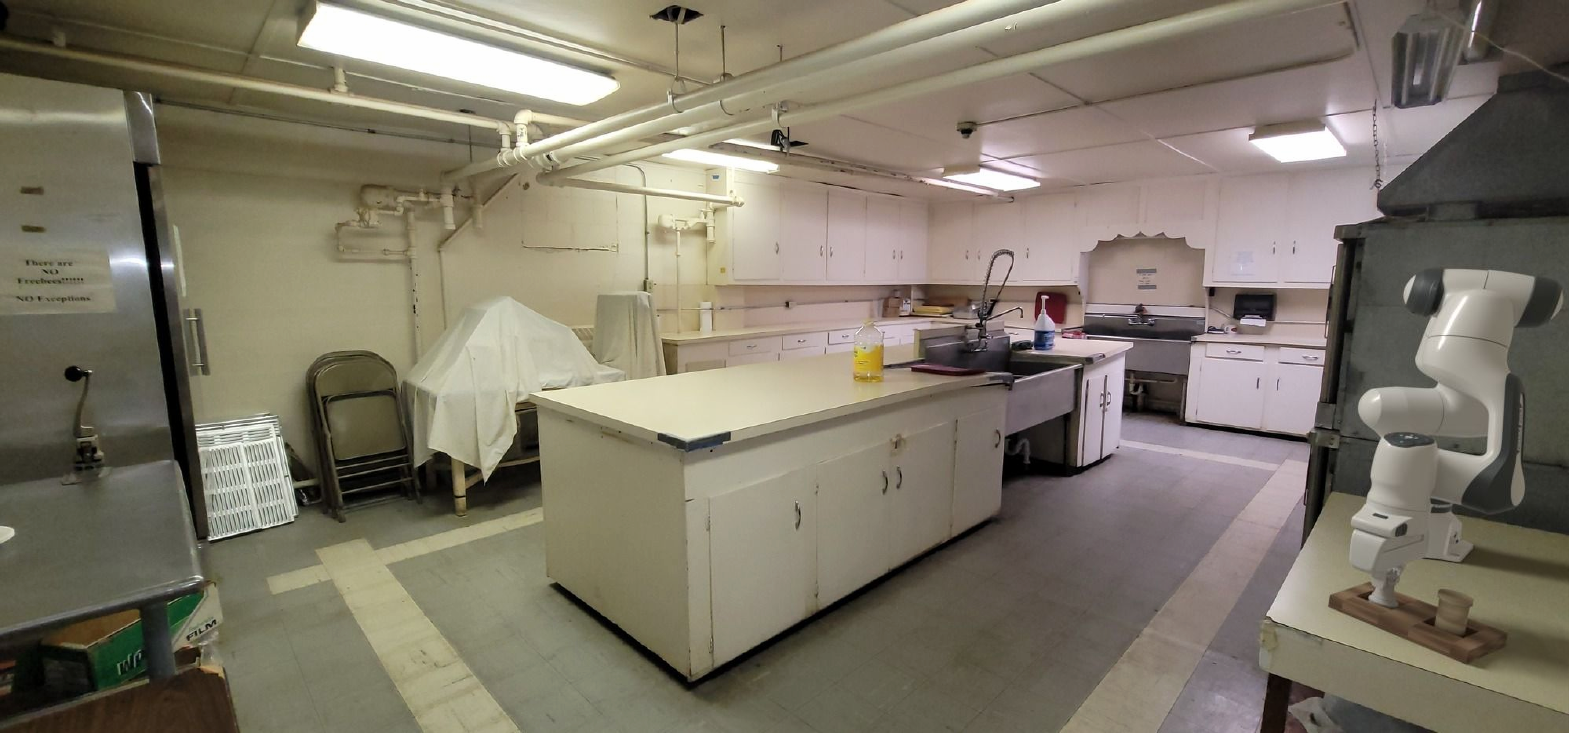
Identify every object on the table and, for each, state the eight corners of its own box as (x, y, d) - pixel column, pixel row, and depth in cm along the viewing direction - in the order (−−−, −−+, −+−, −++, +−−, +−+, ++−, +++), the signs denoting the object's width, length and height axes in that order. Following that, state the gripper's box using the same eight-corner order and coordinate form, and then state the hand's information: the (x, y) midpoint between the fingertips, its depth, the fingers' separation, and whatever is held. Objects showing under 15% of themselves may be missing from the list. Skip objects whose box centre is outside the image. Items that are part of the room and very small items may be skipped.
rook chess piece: (1369, 610, 122) (1375, 571, 121) (1364, 600, 126) (1370, 562, 125) (1401, 616, 120) (1407, 577, 119) (1394, 606, 124) (1400, 568, 122)
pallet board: (1367, 592, 131) (1373, 554, 129) (1505, 645, 112) (1514, 601, 111) (1328, 606, 125) (1334, 566, 124) (1466, 664, 107) (1475, 617, 106)
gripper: (1403, 504, 127) (1393, 568, 129) (1346, 519, 119) (1336, 587, 121) (1445, 515, 121) (1434, 582, 123) (1388, 531, 113) (1377, 603, 115)
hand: (1385, 584), depth 122 cm, fingers closed on rook chess piece, 3 cm apart
